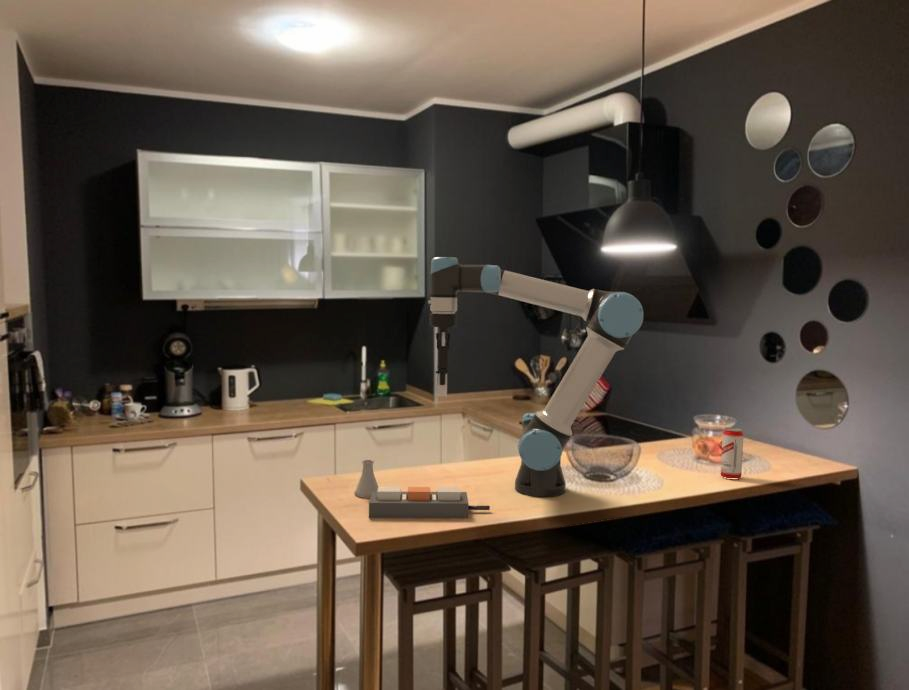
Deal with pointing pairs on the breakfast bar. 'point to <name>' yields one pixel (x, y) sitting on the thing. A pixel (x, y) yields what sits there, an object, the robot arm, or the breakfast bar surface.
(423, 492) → the switch
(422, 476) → the breakfast bar surface
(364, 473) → the flask
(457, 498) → the switch
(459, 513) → the power strip
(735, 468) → the beer can
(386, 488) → the switch
